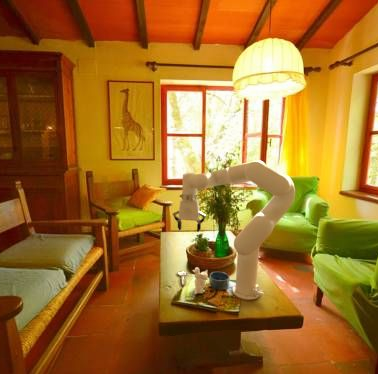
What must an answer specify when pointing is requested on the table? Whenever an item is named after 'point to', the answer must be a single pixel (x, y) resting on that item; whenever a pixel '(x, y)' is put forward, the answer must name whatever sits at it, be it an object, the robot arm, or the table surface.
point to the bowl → (219, 280)
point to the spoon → (182, 276)
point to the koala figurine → (200, 280)
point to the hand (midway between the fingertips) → (189, 230)
